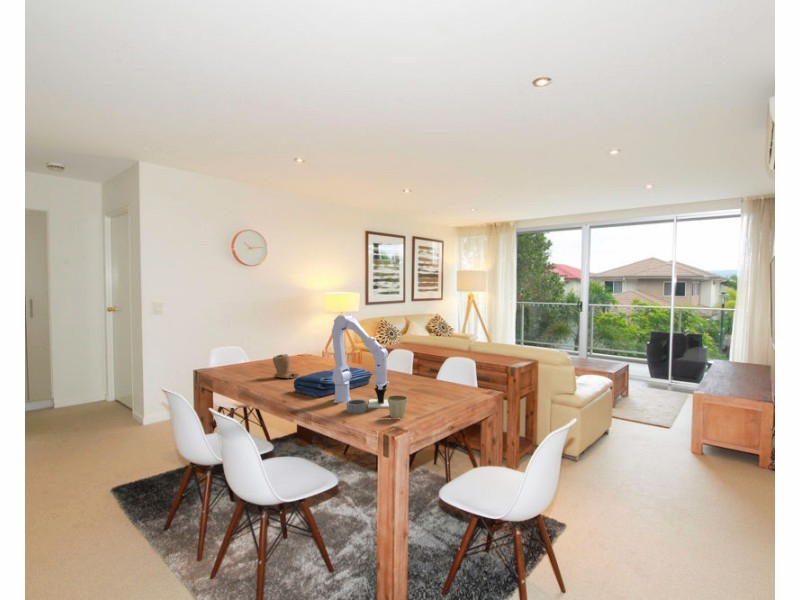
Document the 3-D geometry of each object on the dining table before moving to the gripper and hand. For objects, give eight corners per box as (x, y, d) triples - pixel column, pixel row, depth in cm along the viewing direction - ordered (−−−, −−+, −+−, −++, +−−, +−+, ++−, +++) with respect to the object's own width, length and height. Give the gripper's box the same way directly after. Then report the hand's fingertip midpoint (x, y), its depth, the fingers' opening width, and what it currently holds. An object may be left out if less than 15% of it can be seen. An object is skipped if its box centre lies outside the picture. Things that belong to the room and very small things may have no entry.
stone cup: (269, 378, 269) (268, 354, 268) (283, 374, 279) (283, 352, 278) (285, 381, 260) (285, 356, 260) (299, 377, 271) (299, 354, 270)
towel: (373, 384, 253) (373, 366, 253) (320, 399, 219) (320, 379, 219) (344, 378, 268) (344, 362, 267) (290, 392, 234) (290, 374, 233)
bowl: (347, 408, 201) (347, 399, 201) (366, 408, 201) (366, 399, 201) (345, 414, 192) (345, 404, 192) (365, 414, 192) (365, 404, 192)
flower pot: (407, 413, 194) (407, 394, 194) (408, 420, 184) (408, 400, 184) (386, 413, 194) (386, 395, 193) (386, 420, 184) (386, 400, 184)
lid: (369, 400, 213) (369, 391, 213) (393, 400, 213) (393, 391, 213) (367, 407, 201) (367, 397, 201) (393, 407, 201) (393, 397, 201)
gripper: (388, 376, 199) (388, 404, 200) (389, 370, 214) (389, 396, 214) (373, 376, 199) (373, 404, 200) (375, 370, 214) (375, 396, 214)
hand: (380, 400), depth 207 cm, fingers open, 6 cm apart
